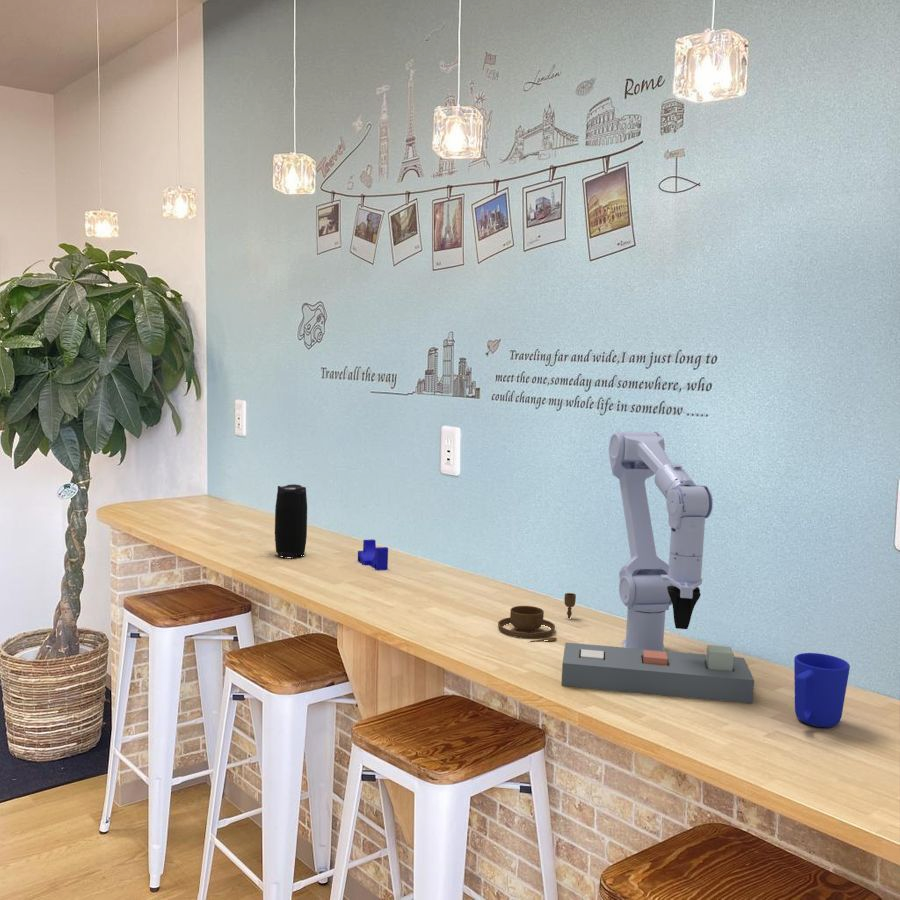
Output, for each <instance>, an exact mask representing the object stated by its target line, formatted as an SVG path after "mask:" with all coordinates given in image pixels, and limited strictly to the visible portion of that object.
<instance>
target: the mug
mask: <svg viewBox="0 0 900 900" xmlns="http://www.w3.org/2000/svg"><path fill="white" fill-rule="evenodd" d="M793 659H794V660H793V662H794V666H793V667H794V671H793V672H794V673H793V676H794V677H793V678H794V679H793V680H794V713H795V717H796V718H797V719H798V720H799V721H801V722H802V723H805V724H807V725H810V726H813V727H817V728H832V727H836V726H837V725H838V724H839V723H840V722H841V719H842V715H843V709H844V704H845V700H846V699H845V697H846V692H847V686H848V681H849V675H850V668H851V665H850V663H849V662H847V661H846V660H845V659H842V658H840V657H838V656H835V655H834V656H833V655H829V654H825V653H817V652H816V653H815V652H805V653H804V652H803V653H799V654H796V655H795V657H794V658H793Z"/></svg>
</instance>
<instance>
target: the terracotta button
mask: <svg viewBox="0 0 900 900" xmlns="http://www.w3.org/2000/svg"><path fill="white" fill-rule="evenodd" d="M667 661H668V659H667V654H666V652H661V651H649V650H643V663H644V664H655V665H666V666H667Z"/></svg>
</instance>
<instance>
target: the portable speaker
mask: <svg viewBox="0 0 900 900" xmlns="http://www.w3.org/2000/svg"><path fill="white" fill-rule="evenodd" d="M306 488H307V487H306V486H302V485H300V484H294V483H293V484H287V485H284V486H281V485H278V486H277V492H276V501H275V510H274V512H275V513H274V541H275V543H274V544H275V552H276V554H277V555H278V557H279V556H283V557H293V558H294V557H295V556H301V555H302V556H301V557H304V556H305V555H306V554H305V551H306V544H307V538H308V537H307V535H308V534H307V533H308V500H307V499H308V498H307V497H308V496H307V489H306ZM303 555H304V556H303Z"/></svg>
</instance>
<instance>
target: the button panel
mask: <svg viewBox="0 0 900 900" xmlns="http://www.w3.org/2000/svg"><path fill="white" fill-rule="evenodd" d="M581 649H584V650H595V651H604V657H603V660H599V659H587V658H581ZM643 650H648V649H636V648H624V647H623V646H622V647H621V646H611V645H598V644H589V643H587V644H586V643H576V642H565V643H564V650H563V658H562V667H561V668H562V669H561V686H565V687H575V688H584V689H585V688H586V689H595V690H606V691H615V692H616V691H619V692H629V693H637V694H648V695H649V694H650V695H661V696H670V697H682V698H693V699H703V700H711V701H721V702H722V701H725V702H734V703H746V704H753V703H754V690H755V679H754V677H753V675H752V673H751V670H750V668H749V665H748V664H747V662H746V660H745V658H744V657H742V656H741V657H739V656H738V657H737V656H734V657H733V671H723V670H712V669H707V668H706V655H707V653H706V654H704V653H692V652H681V651H680V652H679V651H668V650H665V651H661V652H666V654H667V659H668V661H667V666H666V665H655V664H644V663H643ZM649 651H659V650H649Z"/></svg>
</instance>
